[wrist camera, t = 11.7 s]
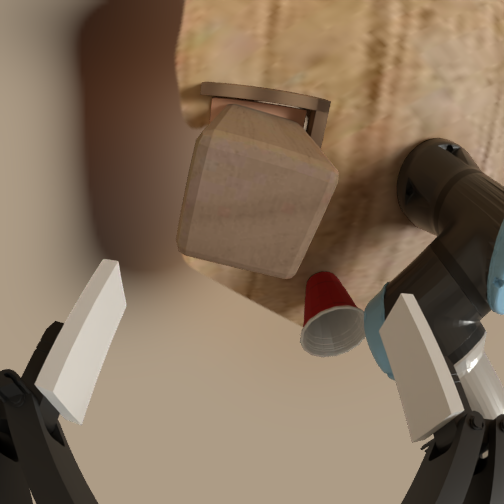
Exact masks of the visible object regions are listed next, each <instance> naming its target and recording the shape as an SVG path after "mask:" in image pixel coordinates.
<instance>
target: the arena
mask: <svg viewBox="0 0 504 504" xmlns="http://www.w3.org/2000/svg"><path fill="white" fill-rule="evenodd" d="M200 95H213V96H225V97H235V98H244V99H252V100H259V101H266V102H273V103H279V104H285V105H291V106H296V107H301V108H306V109H310V114H309V120H308V125H307V130H306V132H307V134H308V135H309V136H310V137H311V138H312V139H313V141H314V142H315V143H316V144H317V145H318V147H319V148H320V149H321V145H322V141H323V136H324V132H325V127H326V122H327V117H328V113H329V108H330V103H331V101H328V100H325V99H322V98H317V97H313V96H308V95H303V94H298V93H292V92H287V91H281V90H275V89H268V88H262V87H254V86H246V85H237V84H227V83H215V82H202V85H201V94H200Z"/></svg>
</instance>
